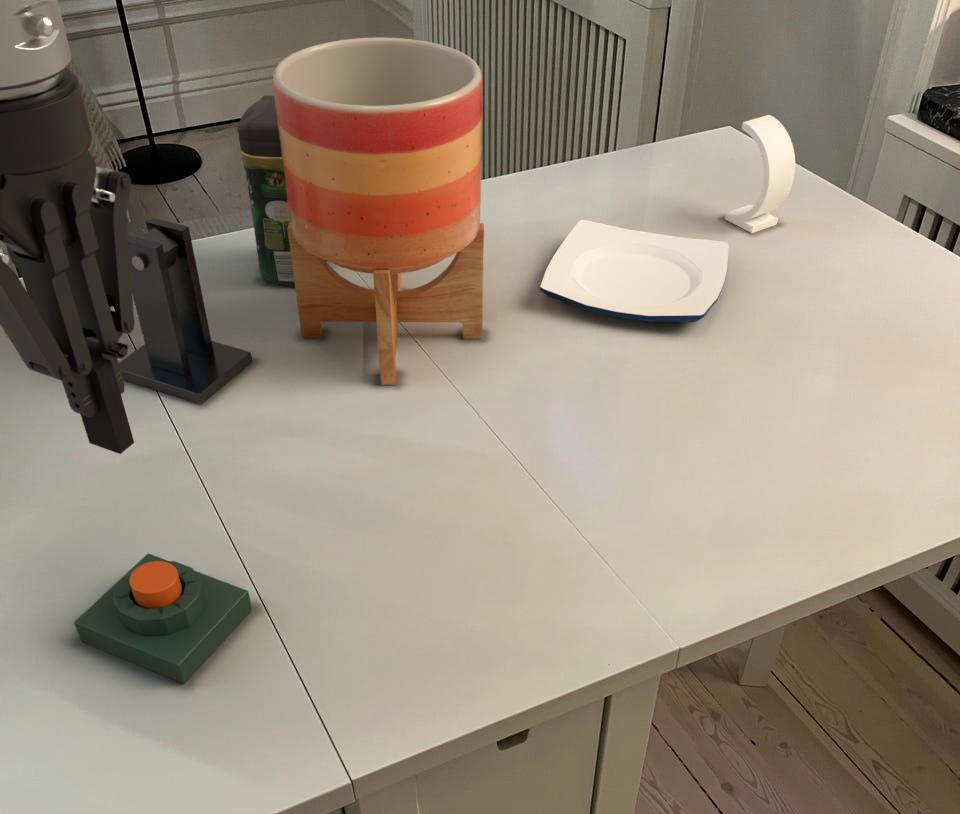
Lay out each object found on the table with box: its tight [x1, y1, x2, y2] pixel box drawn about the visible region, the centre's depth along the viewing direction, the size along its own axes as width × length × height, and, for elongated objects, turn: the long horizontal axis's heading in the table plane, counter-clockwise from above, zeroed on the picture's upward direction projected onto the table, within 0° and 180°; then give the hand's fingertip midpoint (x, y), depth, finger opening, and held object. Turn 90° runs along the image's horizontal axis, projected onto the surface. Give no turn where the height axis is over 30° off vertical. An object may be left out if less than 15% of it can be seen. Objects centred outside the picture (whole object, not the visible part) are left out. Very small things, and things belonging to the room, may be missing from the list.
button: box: [129, 561, 182, 609], centre depth 78 cm, size 4×4×2 cm
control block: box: [73, 553, 253, 685], centre depth 80 cm, size 10×9×4 cm
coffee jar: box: [237, 94, 328, 286], centre depth 116 cm, size 10×8×19 cm
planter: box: [272, 37, 485, 386], centre depth 102 cm, size 20×20×27 cm
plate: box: [539, 219, 730, 323], centre depth 120 cm, size 20×20×3 cm
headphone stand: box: [724, 114, 796, 234], centre depth 128 cm, size 5×6×12 cm
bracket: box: [118, 217, 254, 405], centre depth 102 cm, size 11×9×15 cm
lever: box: [127, 220, 178, 268], centre depth 97 cm, size 13×6×2 cm, turn 64°
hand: (111, 442), depth 71 cm, fingers closed
